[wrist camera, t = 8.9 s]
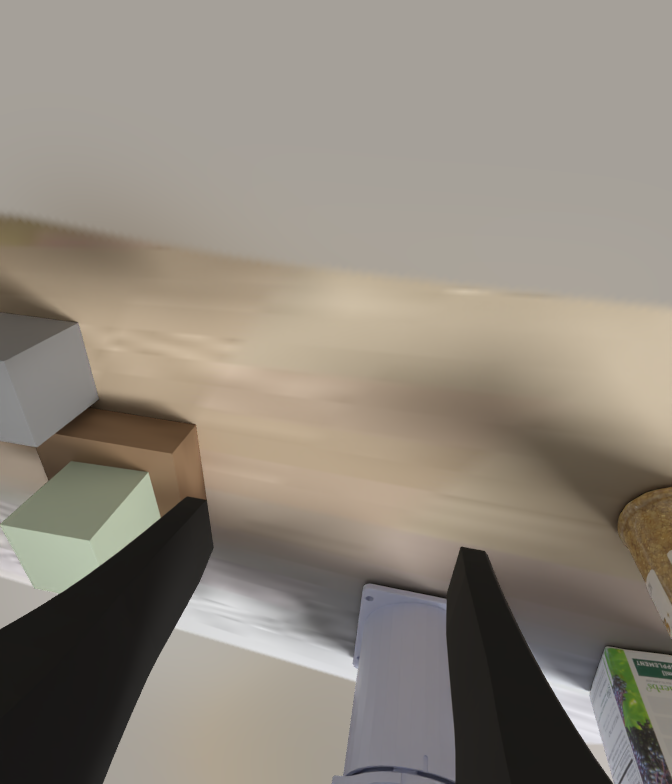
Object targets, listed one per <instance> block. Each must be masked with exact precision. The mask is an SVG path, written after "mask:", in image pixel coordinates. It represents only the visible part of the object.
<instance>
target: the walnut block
mask: <svg viewBox="0 0 672 784" xmlns="http://www.w3.org/2000/svg"><path fill="white" fill-rule="evenodd" d="M36 449H37V452H38V455H39V457H40V460H41V462H42V465H43V467H44V470H45V473H46V475H47V478H48V480H50V479H52V478H53V477H54V476H55V475H56V474H57V473H58V472H59V471H61V470H62V469H63V468H64V467H65V466H66V465H67V464H68V463H70V462H71V461H74V462H81V463H88V464H95V465H102V466H109V467H116V468H123V469H130V470H137V471H143V472H148V473H149V476H150V480H151V484H152V487H153V491H154V495H155V498H156V502H157V506H158V509H159V513H160V517H162V516H163V515H165V514H166V513H167V512H168V511H169V510H171V509H172V508H173V507H174V506H175V505H177V504H178V503H179V502H180V501H181V500H183V499H184V498H185V497H187V496H189V497H194V498H199V499H205V500H207V499H206V492H205V485H204V478H203V471H202V464H201V457H200V450H199V443H198V435H197V428H196V425H194V424H188V423H182V422H175V421H169V420H163V419H157V418H151V417H144V416H138V415H132V414H126V413H119V412H113V411H107V410H101V409H94V408H87V409H86V410H84V411H83V412H82V413H81V414H79V415H78V416H77V417H75V418H74V419H73V420H72V421H70V422H69V423H68V424H67V425H65V426H64V427H63V428H61V429H60V430H59V431H58V432H56V433H55V434H54V435H52V436H51V437H50V438H49V439H47V440H46V441H45V442H43V443H42V444H41V445H40V446H38V447H36Z"/></svg>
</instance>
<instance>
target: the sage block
mask: <svg viewBox="0 0 672 784" xmlns="http://www.w3.org/2000/svg"><path fill="white" fill-rule="evenodd" d="M160 518H161V517H160V513H159V509H158V506H157V502H156V498H155V495H154V491H153V487H152V484H151V480H150V476H149V473H148V472H143V471H137V470H130V469H123V468H116V467H109V466H102V465H95V464H88V463H81V462H74V461H71V462H70V463H68V464H67V465H66V466H65V467H64V468H63V469H62V470H61V471H59V472H58V473H57V474H56V475H55V476H54V477H53V478H52V479H50V480H49V481H48V482H47V483H46V484H45V485H44V486H43V487H41V488H40V489H39V490H38V491H37V492H36V493H35V494H34V495H32V496H31V497H30V498H29V499H28V500H27V501H26V502H24V503H23V504H22V505H21V506H20V507H19V508H18V509H17V510H15V511H14V512H13V513H12V514H11V515H10V516H9V517H8V518H6V519H5V520H4V521H3V522H2V523H1V524H0V526H1V528H2V530H3V532H4V534H5V536H6V537H7V539H8V541H9V543H10V545H11V547H12V548H13V550H14V552H15V554H16V556H17V558H18V559H19V561H20V563H21V565H22V567H23V569H24V570H25V572H26V574H27V576H28V578H29V580H30V581H31V583H32V585H33V587H34V588H35V589H40V590H45V591H49V592H54V593H59V594H60V593H61V592H63V591H65V590H66V589H68V588H69V587H70V586H72V585H73V584H75V583H76V582H78V581H79V580H81V579H82V578H84V577H85V576H86V575H88V574H89V573H91V572H92V571H93V570H95V569H96V568H97V567H99V566H100V565H101V564H103V563H104V562H106V561H107V560H108V559H110V558H111V557H112V556H114V555H115V554H116V553H118V552H119V551H120V550H121V549H123V548H124V547H125V546H127V545H128V544H129V543H130V542H132V541H133V540H134V539H135V538H137V537H138V536H139V535H140V534H142V533H143V532H144V531H145V530H147V529H148V528H149V527H150V526H151V525H153V524H154V523H155V522H156V521H157V520H159V519H160Z"/></svg>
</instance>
